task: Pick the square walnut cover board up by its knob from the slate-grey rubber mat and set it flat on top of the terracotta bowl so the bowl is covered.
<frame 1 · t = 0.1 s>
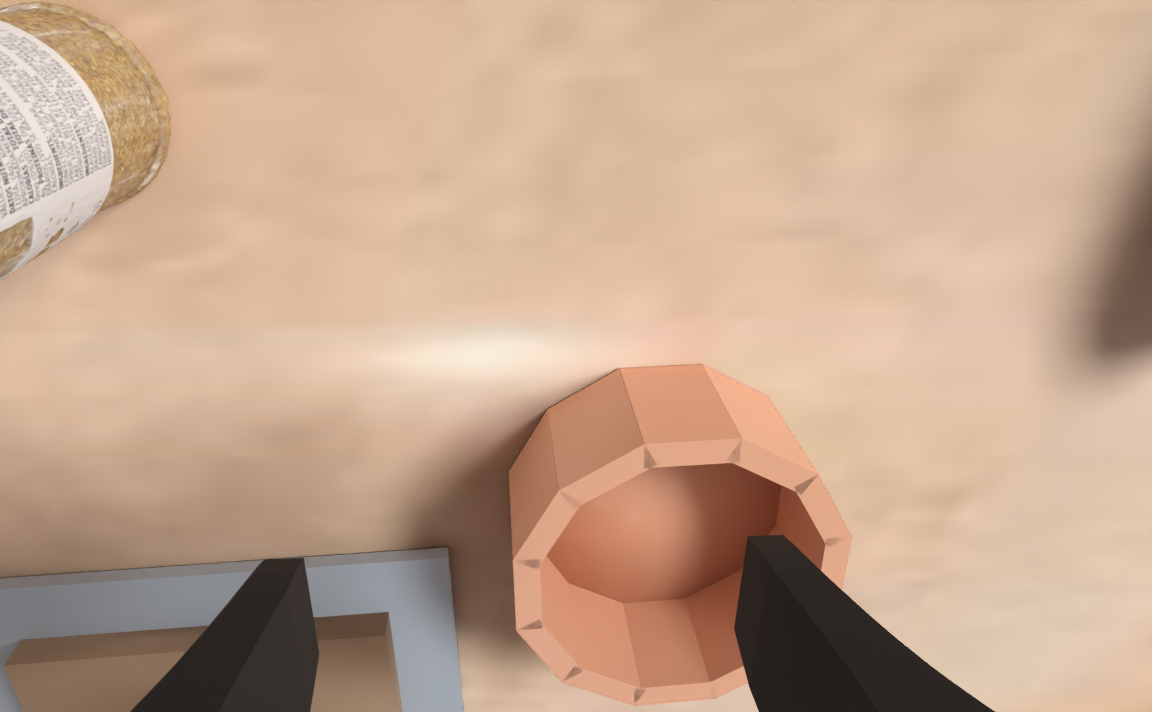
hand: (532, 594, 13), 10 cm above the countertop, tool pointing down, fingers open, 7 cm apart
terracotta bowl: (654, 494, 25), on the countertop
sprinkles bottle: (78, 104, 18), on the countertop
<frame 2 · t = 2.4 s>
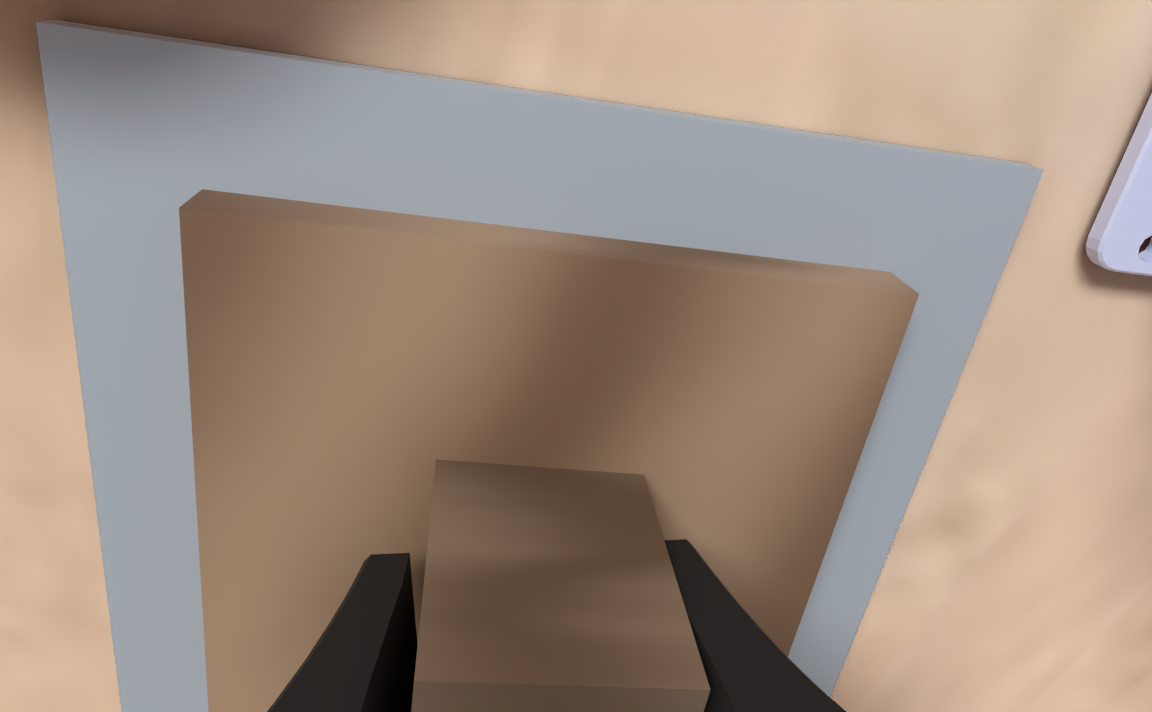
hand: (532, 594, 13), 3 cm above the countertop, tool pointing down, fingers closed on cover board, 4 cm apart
rubber mat: (524, 498, 15), on the countertop
cover board: (525, 514, 15), resting on rubber mat, touching gripper
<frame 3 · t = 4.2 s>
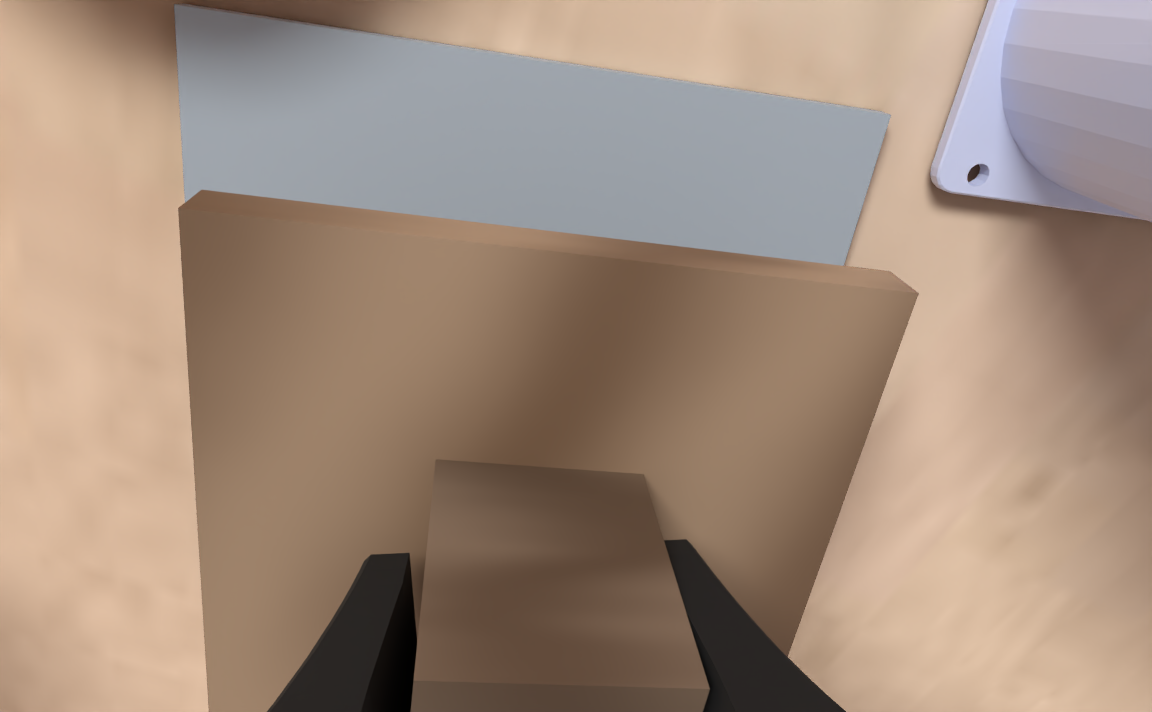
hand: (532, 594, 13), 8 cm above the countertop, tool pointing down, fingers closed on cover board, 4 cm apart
rubber mat: (514, 372, 20), on the countertop
cover board: (525, 514, 15), point 6 cm above the countertop, touching gripper
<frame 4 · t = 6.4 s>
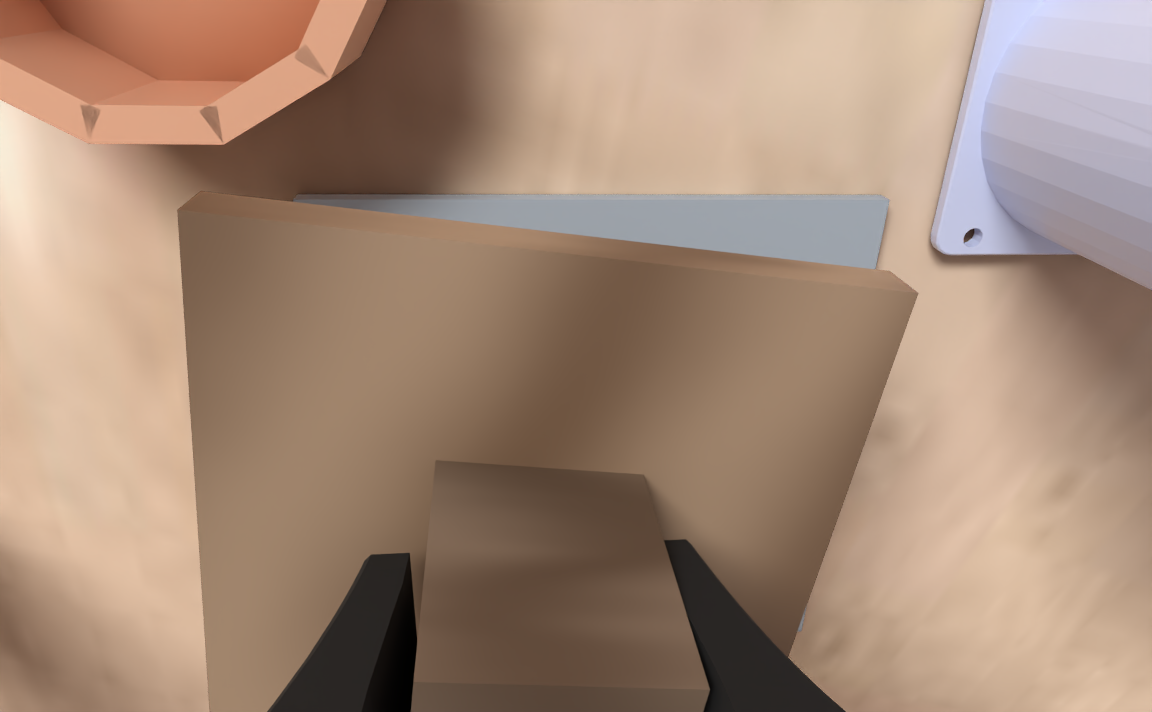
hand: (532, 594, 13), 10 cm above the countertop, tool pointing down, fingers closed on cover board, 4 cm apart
rubber mat: (589, 444, 24), on the countertop
cover board: (525, 515, 15), point 8 cm above the countertop, touching gripper
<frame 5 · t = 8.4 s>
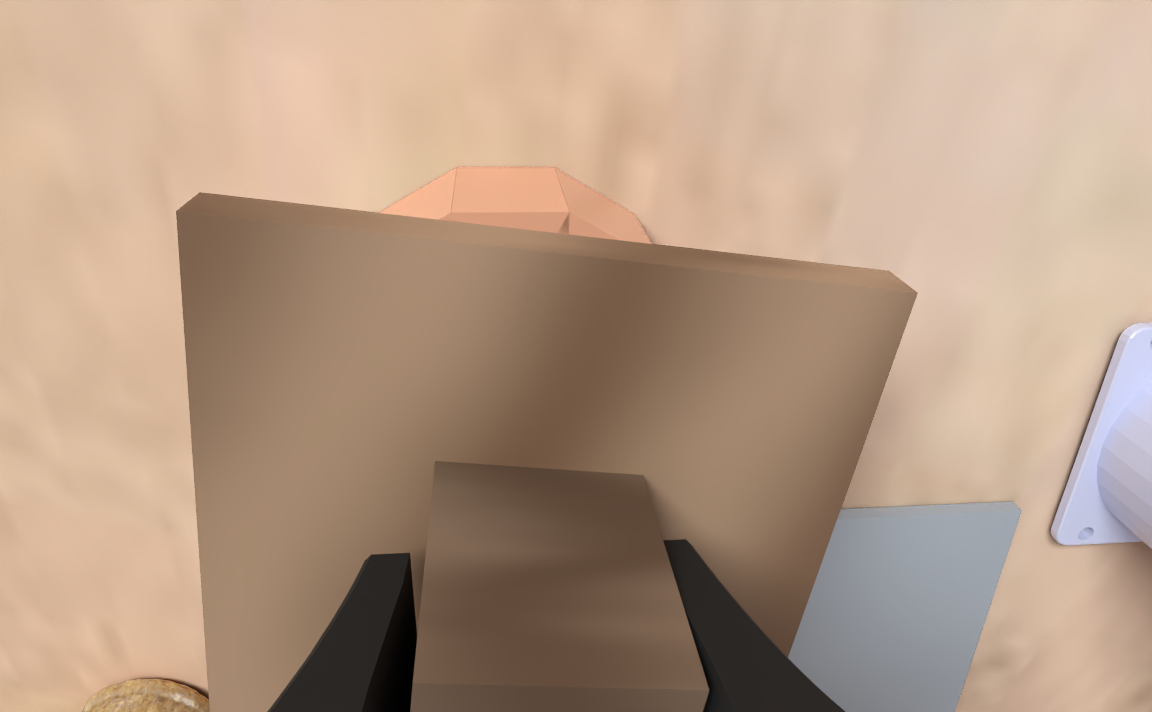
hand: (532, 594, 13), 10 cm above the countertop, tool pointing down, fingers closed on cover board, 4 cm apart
rubber mat: (763, 679, 29), on the countertop
terracotta bowl: (508, 332, 22), on the countertop
cover board: (525, 515, 15), point 8 cm above the countertop, touching gripper
when the fingers open (7 cm above the countertop, at t = 10.5 s): cover board stays where it is, resting on terracotta bowl.
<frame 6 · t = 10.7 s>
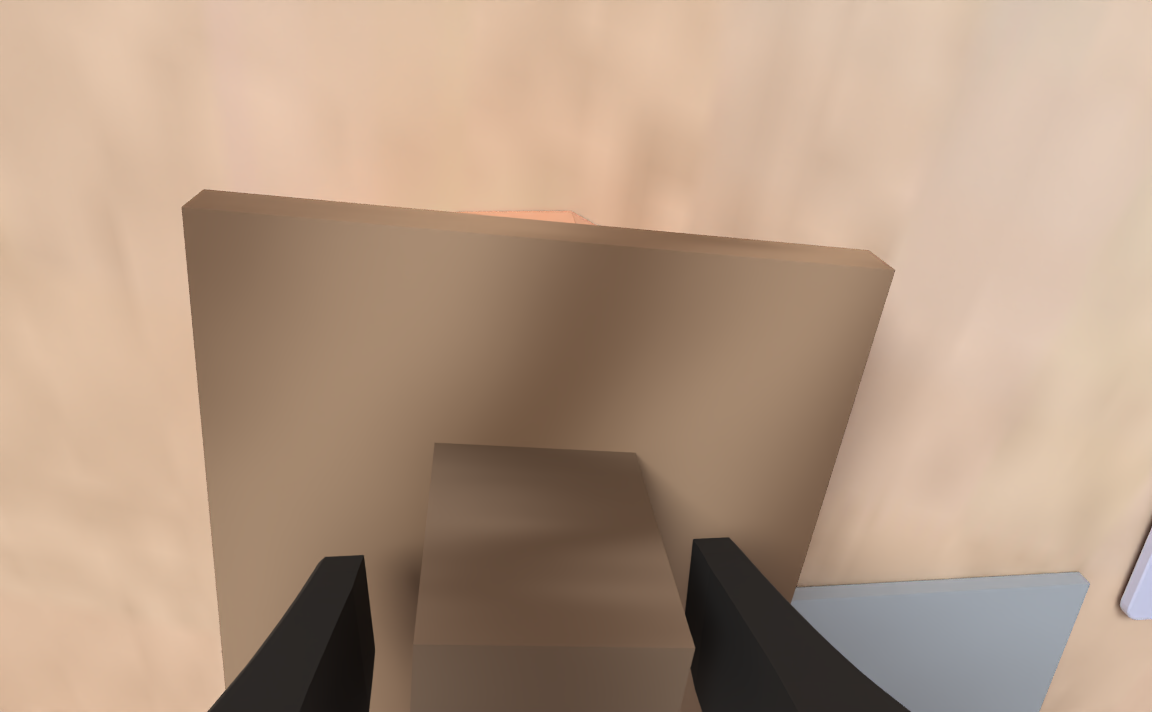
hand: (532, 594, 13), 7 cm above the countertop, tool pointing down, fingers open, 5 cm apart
terracotta bowl: (517, 395, 19), on the countertop
cover board: (524, 496, 15), point 4 cm above the countertop, touching terracotta bowl
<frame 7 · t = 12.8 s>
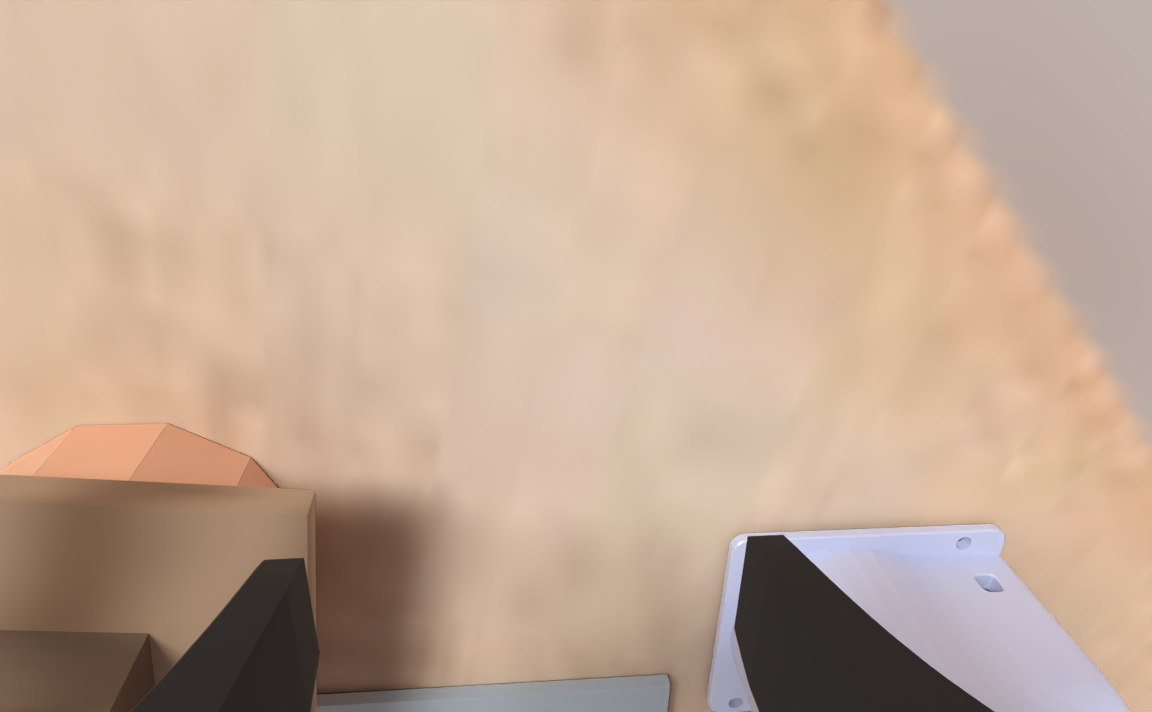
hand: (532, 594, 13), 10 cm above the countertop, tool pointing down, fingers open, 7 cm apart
terracotta bowl: (154, 551, 24), on the countertop
cover board: (97, 653, 21), point 4 cm above the countertop, touching terracotta bowl
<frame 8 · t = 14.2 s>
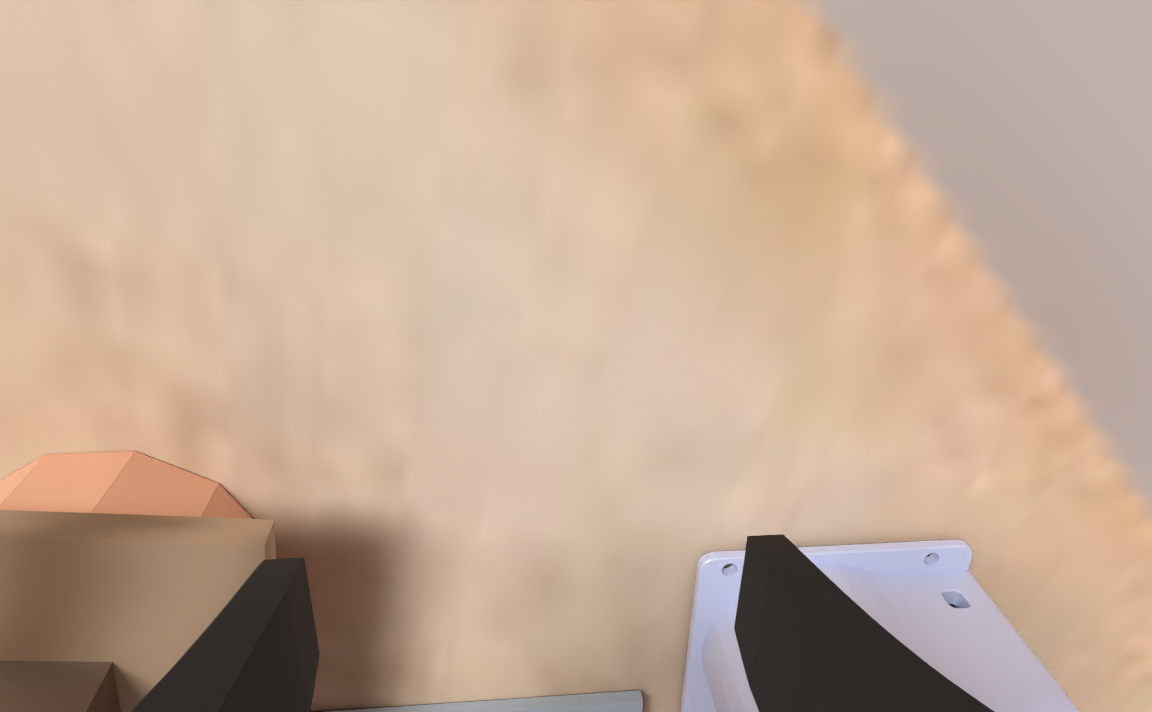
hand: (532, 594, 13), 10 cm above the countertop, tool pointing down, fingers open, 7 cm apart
terracotta bowl: (126, 575, 25), on the countertop
cover board: (65, 679, 21), point 4 cm above the countertop, touching terracotta bowl
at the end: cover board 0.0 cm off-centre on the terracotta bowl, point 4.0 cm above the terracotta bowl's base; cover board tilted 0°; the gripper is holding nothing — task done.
